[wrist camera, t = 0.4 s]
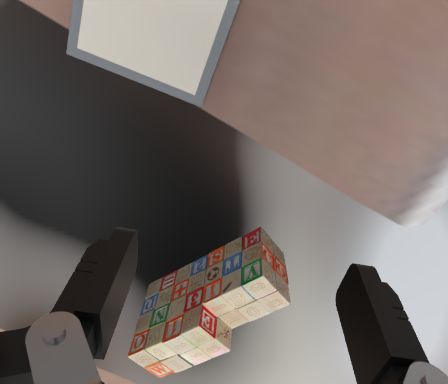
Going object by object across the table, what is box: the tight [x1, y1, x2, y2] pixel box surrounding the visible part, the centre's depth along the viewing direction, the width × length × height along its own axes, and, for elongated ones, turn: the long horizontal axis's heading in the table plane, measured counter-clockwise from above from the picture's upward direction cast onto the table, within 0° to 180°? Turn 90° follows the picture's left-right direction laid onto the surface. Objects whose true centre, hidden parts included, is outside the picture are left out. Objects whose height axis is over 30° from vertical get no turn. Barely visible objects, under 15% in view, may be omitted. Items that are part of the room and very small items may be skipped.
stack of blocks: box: [128, 227, 290, 378], centre depth 46 cm, size 21×6×12 cm, turn 127°
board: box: [66, 0, 240, 107], centre depth 31 cm, size 12×14×2 cm
